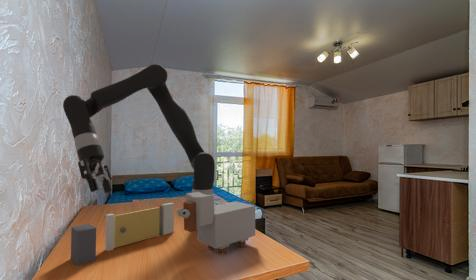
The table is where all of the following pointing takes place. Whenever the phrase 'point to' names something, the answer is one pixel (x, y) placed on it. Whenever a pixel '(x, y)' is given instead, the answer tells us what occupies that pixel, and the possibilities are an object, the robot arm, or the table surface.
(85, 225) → the rubber block
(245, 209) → the toy
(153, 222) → the door
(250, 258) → the table surface
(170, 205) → the wall frame
